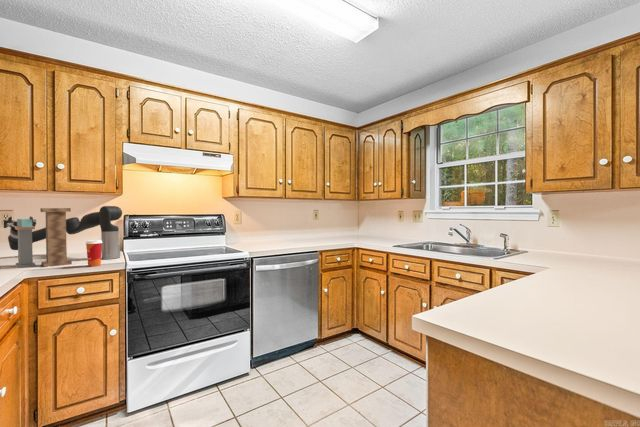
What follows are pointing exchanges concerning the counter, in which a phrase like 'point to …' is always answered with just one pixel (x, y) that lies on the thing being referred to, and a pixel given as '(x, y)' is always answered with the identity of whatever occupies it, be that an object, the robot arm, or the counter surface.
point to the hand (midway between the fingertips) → (21, 217)
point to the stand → (56, 236)
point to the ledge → (25, 247)
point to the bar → (24, 222)
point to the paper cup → (94, 252)
